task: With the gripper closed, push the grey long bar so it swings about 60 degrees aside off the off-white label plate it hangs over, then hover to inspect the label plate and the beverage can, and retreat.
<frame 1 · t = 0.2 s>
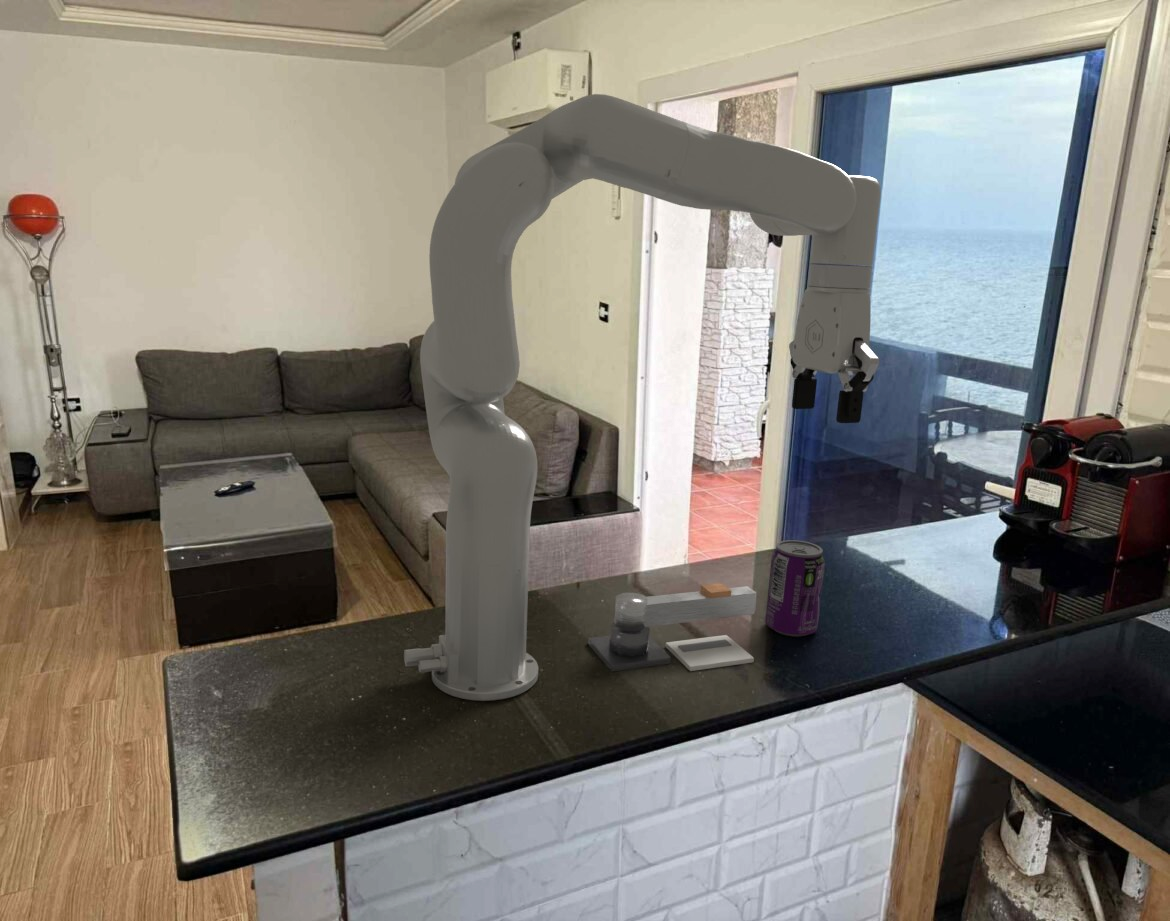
hand: (824, 415, 112), 31 cm above the countertop, fingers open, 9 cm apart
label plate: (708, 654, 111), on the countertop
grey long bar: (685, 604, 112), point 6 cm above the countertop, hinge at 0.0°
beverage can: (790, 630, 120), on the countertop
pivot pedestal: (628, 653, 110), on the countertop
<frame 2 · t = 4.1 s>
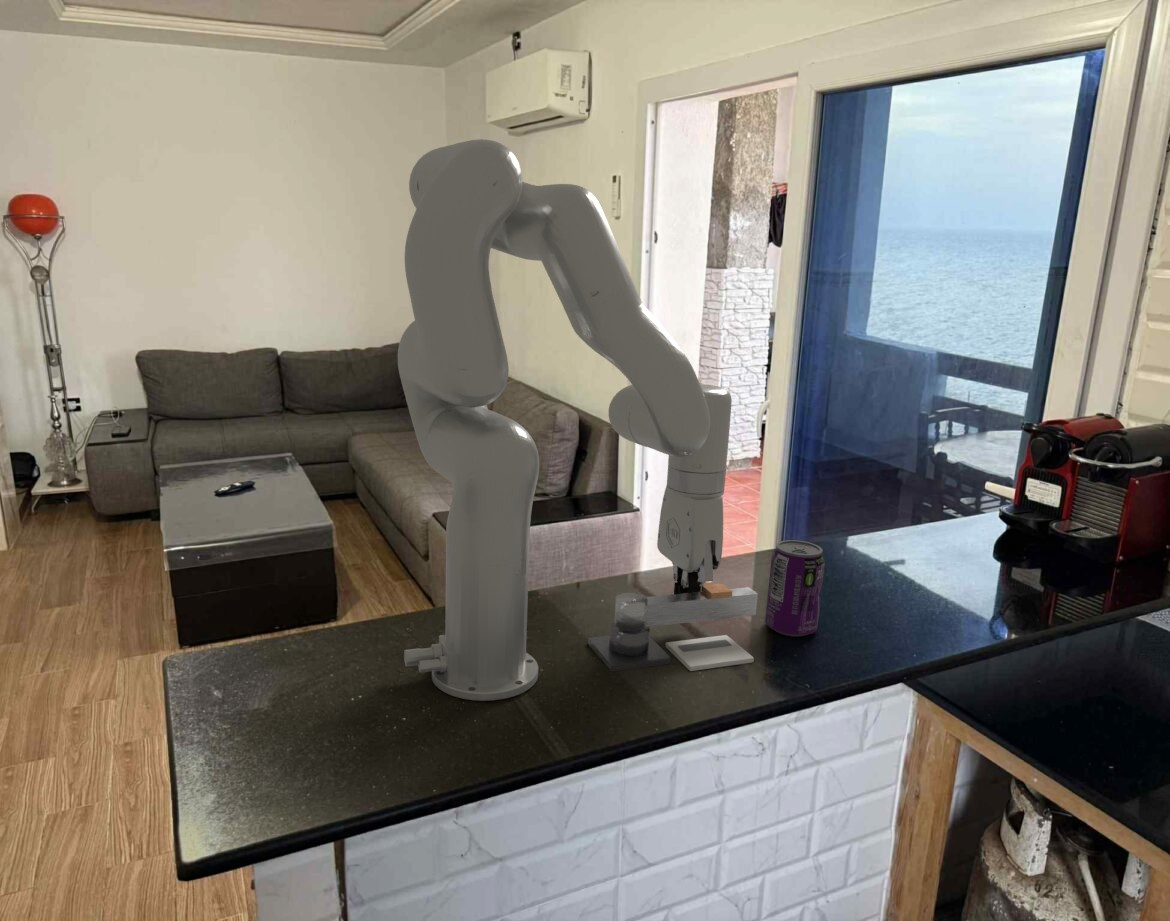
hand: (685, 610, 117), 3 cm above the countertop, fingers closed
grey long bar: (686, 604, 112), point 6 cm above the countertop, hinge at -1.1°, touching gripper
everything else where it was.
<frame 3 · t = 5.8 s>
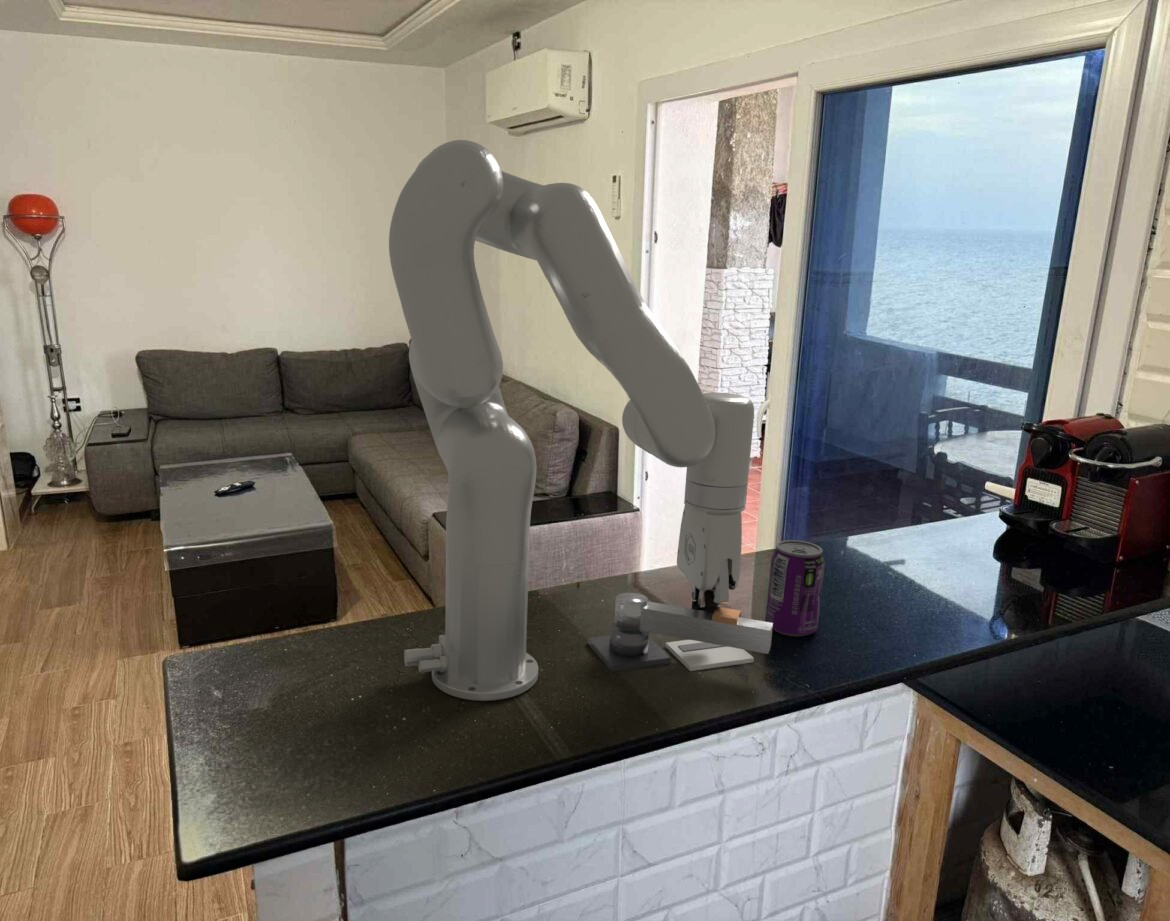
hand: (703, 631, 110), 3 cm above the countertop, fingers closed
grey long bar: (691, 621, 107), point 6 cm above the countertop, hinge at -39.5°, touching gripper
everything else where it was.
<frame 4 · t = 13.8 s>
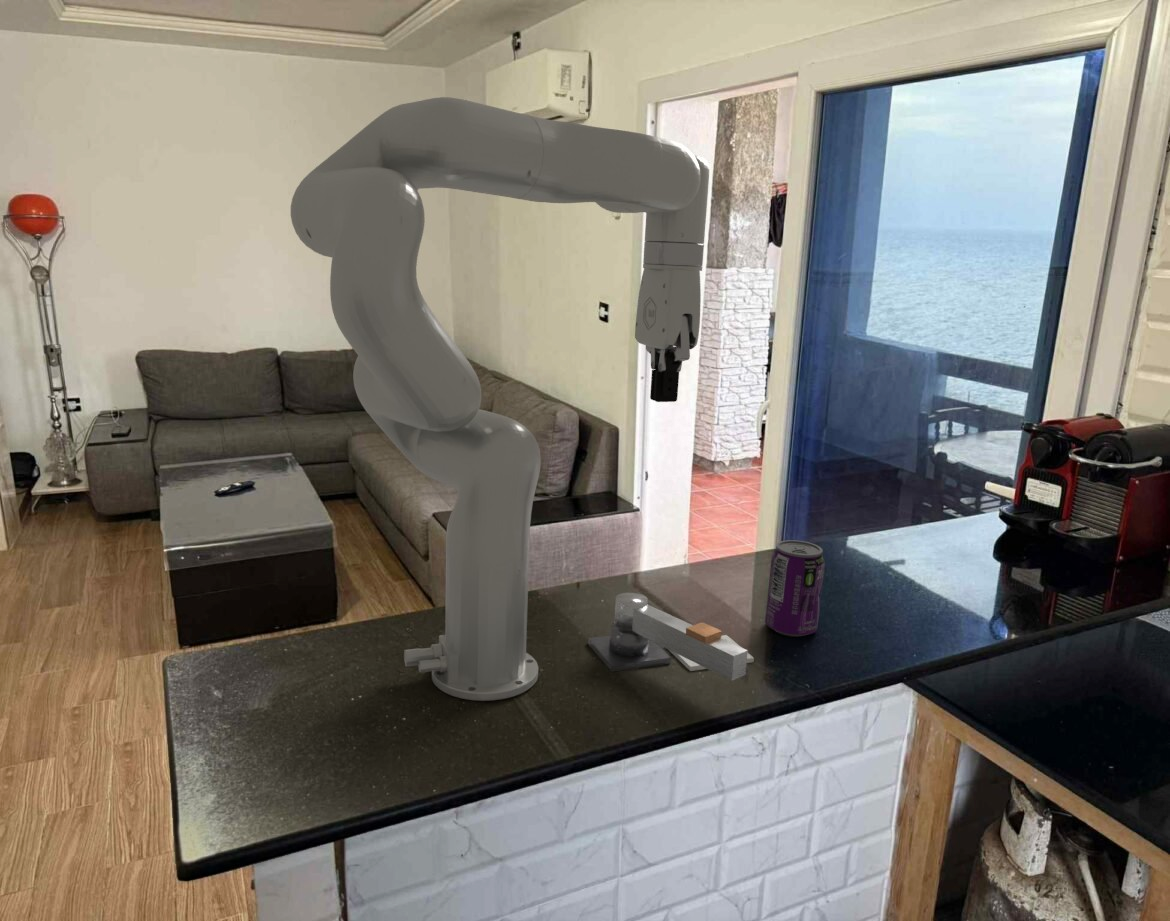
hand: (663, 400, 114), 31 cm above the countertop, fingers closed
grey long bar: (676, 631, 103), point 6 cm above the countertop, hinge at -69.4°
everything else where it was.
at the end: grey long bar at -69° (first picture: +0°); beverage can moved 0.2 cm from its start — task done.
